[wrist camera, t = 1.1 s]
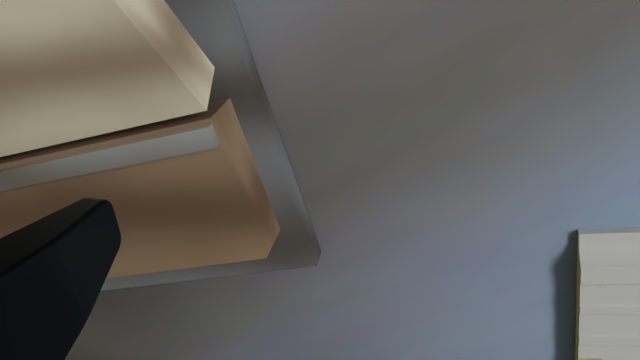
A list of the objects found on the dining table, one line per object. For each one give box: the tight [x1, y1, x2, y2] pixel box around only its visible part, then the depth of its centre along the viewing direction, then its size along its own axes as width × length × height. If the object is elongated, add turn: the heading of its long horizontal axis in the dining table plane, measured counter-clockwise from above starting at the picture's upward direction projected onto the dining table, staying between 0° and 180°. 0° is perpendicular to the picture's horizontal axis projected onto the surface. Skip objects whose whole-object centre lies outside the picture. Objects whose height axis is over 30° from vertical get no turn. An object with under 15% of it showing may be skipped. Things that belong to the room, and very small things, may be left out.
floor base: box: [0, 0, 321, 291], centre depth 24 cm, size 18×22×3 cm
